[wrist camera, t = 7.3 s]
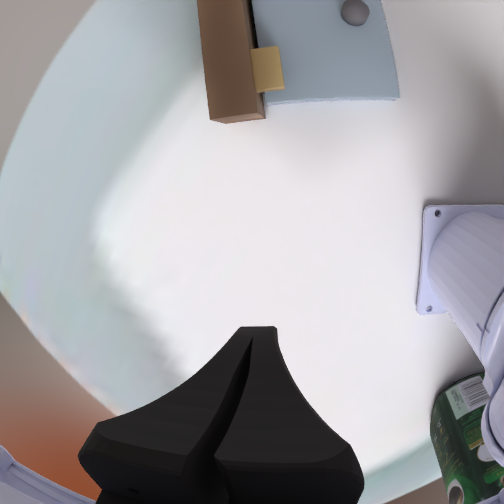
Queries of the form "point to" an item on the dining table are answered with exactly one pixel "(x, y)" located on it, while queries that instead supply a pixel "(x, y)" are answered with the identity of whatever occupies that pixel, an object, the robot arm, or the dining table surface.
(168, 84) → the dining table surface
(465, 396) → the coffee jar
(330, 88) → the door panel
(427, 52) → the dining table surface
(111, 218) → the dining table surface
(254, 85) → the brown long block
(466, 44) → the dining table surface
